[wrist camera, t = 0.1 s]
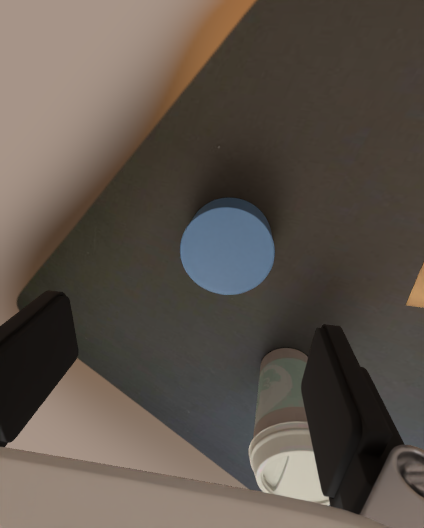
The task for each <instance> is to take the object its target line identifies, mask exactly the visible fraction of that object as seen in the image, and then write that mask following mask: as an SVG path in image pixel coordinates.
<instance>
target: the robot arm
mask: <svg viewBox="0 0 424 528" xmlns="http://www.w3.org/2000/svg"><path fill="white" fill-rule="evenodd" d="M77 356H78V345H77V340H76V334H75V328H74V323H73V317H72V311H71V306H70V300H69V298H68V297H66V295H65V294H64V293H63V292H57V291H46V292H44V293H43V294H41V295H40V296H39V297H38V298H36V299H35V300H34V301H32V302H31V303H30V304H28V305H27V306H26V307H25V308H23V309H22V310H21V311H19V312H18V313H17V314H15V315H14V316H13V317H12V318H10V319H9V320H8V321H6V322H5V323H4V324H2V325H1V326H0V528H424V450H422V449H420V448H417V447H414V446H411V445H404V443H403V441H402V439H401V437H400V435H399V433H398V431H397V429H396V427H395V425H394V423H393V421H392V419H391V417H390V415H389V413H388V411H387V409H386V407H385V405H384V403H383V401H382V399H381V397H380V395H379V393H378V391H377V389H376V387H375V385H374V383H373V381H372V379H371V377H370V375H369V373H368V372H367V370H366V369H365V368H363V367H360V365H359V363H358V361H357V359H356V357H355V355H354V353H353V351H352V349H351V347H350V344H349V342H348V340H347V338H346V336H345V334H344V332H343V330H342V328H341V327H340V326H334V325H326V324H323V325H322V327H321V328H316V331H315V334H314V338H313V342H312V345H311V349H310V353H309V356H308V360H307V364H306V367H305V371H304V375H303V378H302V382H301V393H302V398H303V403H304V408H305V412H306V417H307V422H308V427H309V432H310V437H311V442H312V447H313V452H314V456H315V461H316V466H317V471H318V476H319V481H320V486H321V490H322V493H323V495H324V496H326V497H329V502H330V506H327V505H323V504H319V503H315V502H310V501H305V500H300V499H295V498H290V497H285V496H280V495H275V494H270V493H265V492H260V491H254V490H249V489H243V488H238V487H232V486H226V485H221V484H215V483H209V482H203V481H198V480H193V479H187V478H181V477H176V476H169V475H164V474H158V473H153V472H147V471H141V470H135V469H130V468H124V467H118V466H112V465H106V464H101V463H95V462H88V461H83V460H77V459H71V458H65V457H59V456H53V455H47V454H41V453H35V452H29V451H23V450H17V449H10V448H5V446H6V445H7V443H8V442H12V441H13V440H14V439H15V438H16V437H17V436H18V434H19V433H20V432H21V431H22V429H23V428H24V427H25V425H26V424H27V423H28V421H29V420H30V419H31V418H32V416H33V415H34V413H35V412H36V411H37V410H38V408H39V407H40V406H41V405H42V403H43V402H44V401H45V399H46V398H47V397H48V395H49V394H50V393H51V391H52V390H53V389H54V388H55V386H56V385H57V384H58V382H59V381H60V380H61V379H62V377H63V376H64V375H65V373H66V372H67V370H68V369H69V368H70V367H71V366H72V364H73V363H74V362H75V360H76V359H77Z"/></svg>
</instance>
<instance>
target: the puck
mask: <svg viewBox="0 0 424 528" xmlns="http://www.w3.org/2000/svg"><path fill="white" fill-rule="evenodd" d="M180 255H181V260H182V263H183V266H184V268H185V270H186V272H187V273H188V275H189V276H190V277H191V279H192V280H193V281H194V282H195V283H197V284H198V285H199V286H201V287H202V288H204V289H206V290H208V291H210V292H213V293H217V294H222V295H235V294H240V293H244V292H246V291H249V290H251V289H253V288H254V287H256V286H257V285H259V284H260V283H261V282H262V281H263V280H264V279H265V278H266V276H267V275H268V274H269V272H270V270H271V268H272V265H273V262H274V256H275V248H274V242H273V238H272V233H271V229H270V226H269V223H268V221H267V219H266V217H265V216H264V214H263V213H262V212H261V211H260V210H259V209H258V208H257V207H256V206H254V205H253V204H251V203H249V202H247V201H245V200H242V199H238V198H221V199H216V200H214V201H211V202H209V203H208V204H206V205H204V206H203V207H202V208H201V209H200V210H199V211H198V212H197V213H196V214H195V216H194V217H193V219H192V220H191V222H190V223H189V225H188V226H187V228H186V229H185V231H184V233H183V236H182V239H181V244H180Z"/></svg>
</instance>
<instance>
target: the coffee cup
mask: <svg viewBox="0 0 424 528" xmlns="http://www.w3.org/2000/svg"><path fill="white" fill-rule="evenodd" d="M307 360H308V357H307V356H306V355H305V354H304V353H302V352H301V351H298V350H296V349H291V348H281V349H276V350H273V351H271V352H270V353H268V354H267V355H266V356H265V357H264V358H263V360H262V362H261V368H260V377H259V387H258V397H257V407H256V417H255V427H254V437H253V440H252V441H251V443H250V446H249V457H250V464H251V467H252V469H253V471H254V473H255V477H256V481H257V484H258V485H259V487H260V489H261V490H262V491H263V492H265V493H270V494H275V495H280V496H285V497H290V498H295V499H300V500H305V501H310V502H315V503H319V504H323V505H330V502H329V497H326V496H324V495H323V493H322V490H321V486H320V481H319V476H318V471H317V466H316V461H315V456H314V452H313V447H312V442H311V437H310V432H309V427H308V422H307V417H306V412H305V408H304V403H303V398H302V393H301V382H302V378H303V375H304V371H305V367H306V364H307Z"/></svg>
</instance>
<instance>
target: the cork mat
mask: <svg viewBox="0 0 424 528" xmlns="http://www.w3.org/2000/svg"><path fill="white" fill-rule="evenodd" d="M406 305H407V306H416V307H424V263H423V265H422V267H421V270H420V272H419V274H418V277H417V279H416V281H415V284H414V286H413V289H412V291H411V293H410V296H409V298H408V300H407V303H406Z"/></svg>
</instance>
